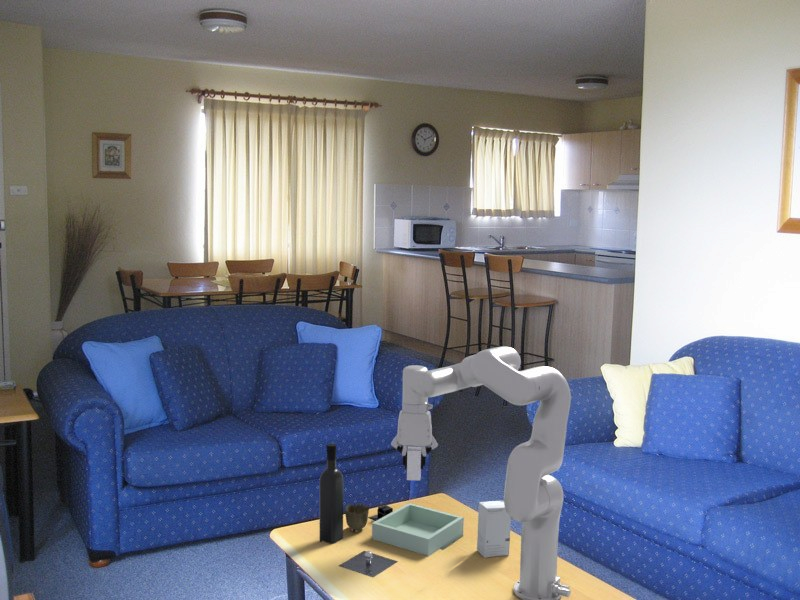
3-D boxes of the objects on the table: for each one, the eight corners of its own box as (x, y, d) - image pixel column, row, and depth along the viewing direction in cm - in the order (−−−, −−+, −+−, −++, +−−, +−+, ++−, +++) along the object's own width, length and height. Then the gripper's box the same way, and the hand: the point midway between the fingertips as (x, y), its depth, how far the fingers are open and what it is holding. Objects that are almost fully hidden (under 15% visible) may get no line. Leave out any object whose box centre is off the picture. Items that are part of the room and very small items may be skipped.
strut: (420, 475, 247) (421, 446, 245) (420, 480, 243) (420, 450, 241) (407, 475, 247) (407, 446, 246) (406, 480, 243) (407, 450, 242)
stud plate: (398, 564, 232) (398, 549, 231) (373, 580, 222) (373, 564, 221) (364, 554, 238) (364, 538, 238) (338, 569, 229) (338, 553, 228)
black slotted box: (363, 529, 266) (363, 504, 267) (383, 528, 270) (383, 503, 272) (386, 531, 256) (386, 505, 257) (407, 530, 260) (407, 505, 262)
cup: (365, 538, 249) (365, 513, 248) (341, 536, 251) (342, 511, 250) (371, 528, 256) (371, 504, 255) (348, 526, 258) (348, 502, 257)
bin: (463, 536, 252) (463, 517, 251) (428, 559, 236) (428, 539, 235) (408, 520, 263) (409, 502, 262) (371, 542, 247) (372, 522, 246)
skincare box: (484, 558, 237) (485, 509, 235) (476, 549, 242) (477, 501, 240) (510, 555, 239) (512, 506, 237) (502, 546, 245) (503, 498, 243)
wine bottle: (329, 536, 250) (329, 440, 247) (344, 540, 247) (345, 444, 244) (317, 543, 245) (318, 445, 242) (333, 547, 243) (333, 448, 239)
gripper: (443, 405, 245) (442, 464, 248) (387, 403, 246) (386, 463, 248) (443, 411, 238) (442, 472, 240) (385, 410, 239) (385, 471, 241)
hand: (414, 467), depth 244 cm, fingers closed on strut, 4 cm apart
